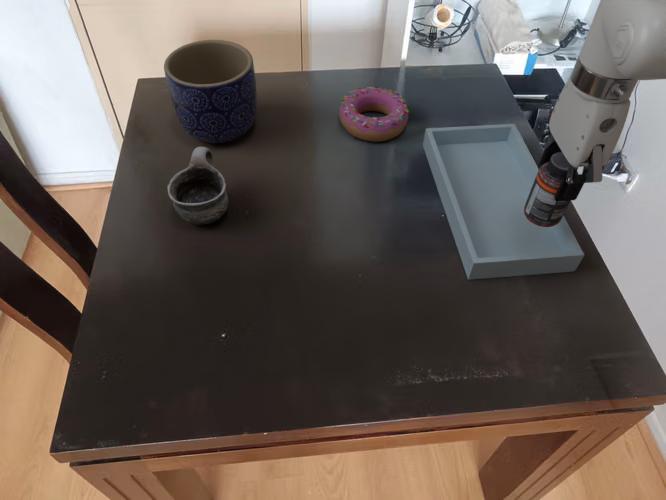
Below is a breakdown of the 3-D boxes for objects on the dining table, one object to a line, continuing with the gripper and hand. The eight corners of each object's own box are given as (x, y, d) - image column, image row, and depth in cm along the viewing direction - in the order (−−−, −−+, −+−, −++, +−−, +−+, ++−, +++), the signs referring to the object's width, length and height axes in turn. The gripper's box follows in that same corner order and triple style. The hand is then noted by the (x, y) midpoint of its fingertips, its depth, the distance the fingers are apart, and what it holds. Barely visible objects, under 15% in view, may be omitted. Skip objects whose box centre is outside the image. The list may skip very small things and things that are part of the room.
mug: (173, 235, 92) (159, 193, 84) (178, 185, 100) (166, 142, 92) (230, 231, 92) (222, 189, 85) (231, 182, 100) (223, 139, 93)
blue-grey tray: (574, 271, 88) (584, 254, 85) (468, 280, 86) (473, 263, 83) (508, 140, 110) (514, 123, 106) (422, 145, 108) (425, 128, 105)
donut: (360, 153, 106) (361, 132, 103) (327, 114, 114) (327, 93, 111) (420, 133, 111) (424, 112, 107) (384, 97, 119) (386, 76, 115)
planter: (240, 160, 104) (230, 94, 93) (164, 143, 107) (145, 76, 96) (272, 112, 115) (267, 47, 103) (202, 97, 118) (189, 32, 106)
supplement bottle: (537, 196, 88) (560, 141, 80) (568, 217, 85) (596, 162, 77) (514, 213, 86) (536, 158, 77) (545, 234, 83) (571, 180, 74)
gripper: (668, 116, 61) (604, 224, 75) (603, 39, 72) (558, 145, 86) (605, 120, 61) (553, 227, 74) (549, 41, 72) (512, 148, 85)
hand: (556, 182), depth 80 cm, fingers closed on supplement bottle, 6 cm apart
